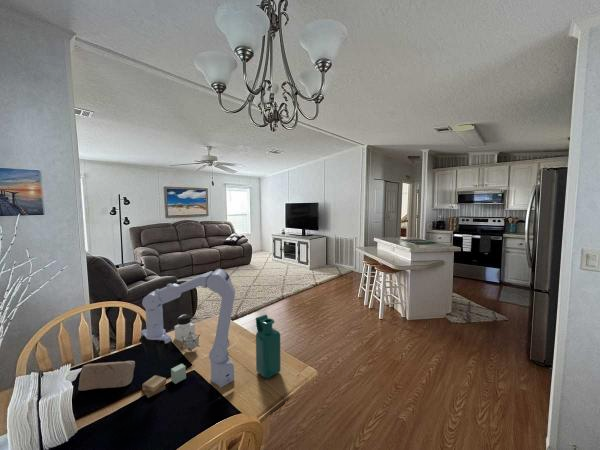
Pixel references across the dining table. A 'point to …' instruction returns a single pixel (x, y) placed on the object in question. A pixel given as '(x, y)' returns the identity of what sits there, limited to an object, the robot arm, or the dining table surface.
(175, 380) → the sage block
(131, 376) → the brick
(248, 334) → the dining table surface
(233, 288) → the robot arm
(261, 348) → the green bottle
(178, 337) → the medicine bottle
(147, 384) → the slab upper
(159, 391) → the slab lower
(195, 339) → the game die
